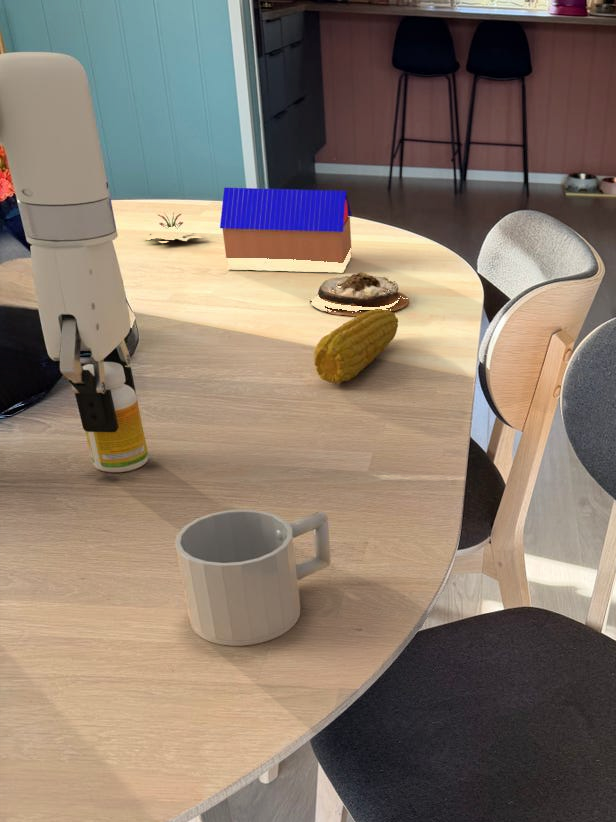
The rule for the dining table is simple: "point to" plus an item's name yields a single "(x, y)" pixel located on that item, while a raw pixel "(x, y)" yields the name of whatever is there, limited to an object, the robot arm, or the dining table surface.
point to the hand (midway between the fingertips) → (111, 416)
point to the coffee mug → (246, 573)
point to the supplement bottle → (119, 427)
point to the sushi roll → (361, 293)
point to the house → (286, 224)
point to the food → (354, 345)
